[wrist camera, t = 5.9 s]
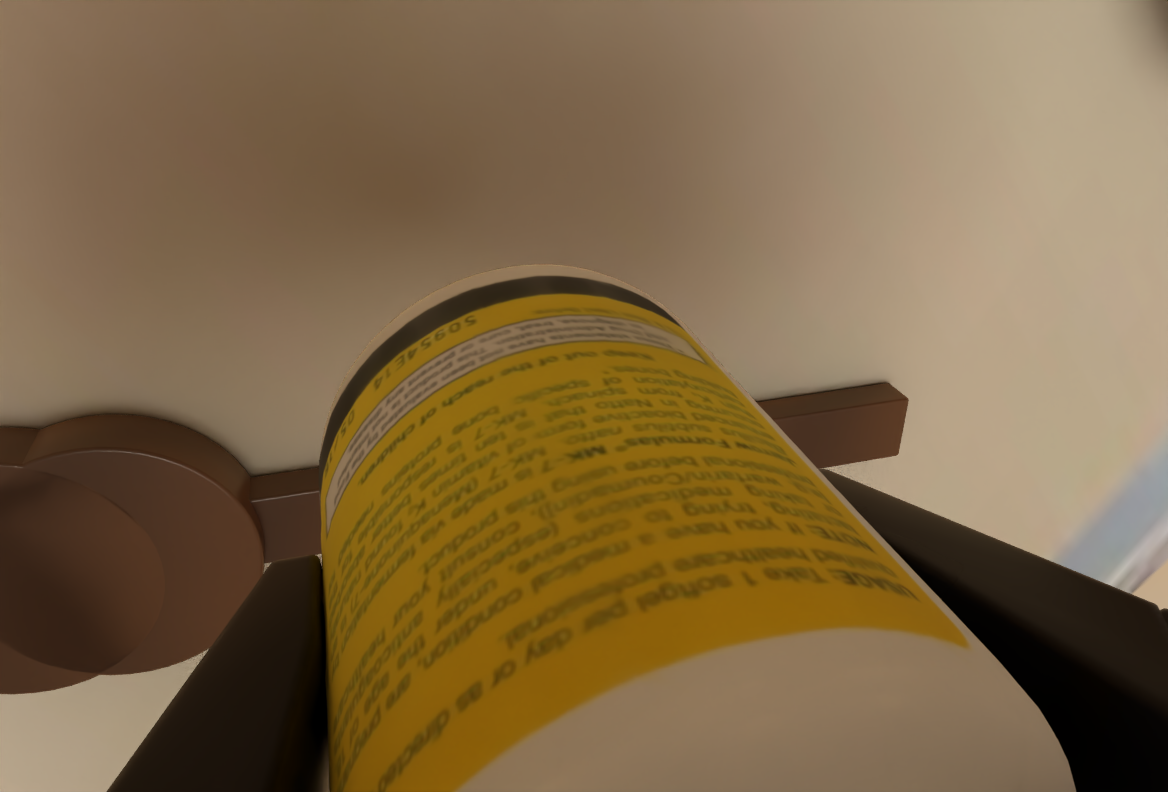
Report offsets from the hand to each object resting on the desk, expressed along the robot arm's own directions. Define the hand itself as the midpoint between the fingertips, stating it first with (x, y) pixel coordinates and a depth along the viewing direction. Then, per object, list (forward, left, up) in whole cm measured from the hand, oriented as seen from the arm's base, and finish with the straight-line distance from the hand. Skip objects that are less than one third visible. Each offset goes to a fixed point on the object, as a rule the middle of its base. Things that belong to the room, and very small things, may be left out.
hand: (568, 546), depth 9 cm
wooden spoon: (-6, 0, -12) cm, 13 cm away
